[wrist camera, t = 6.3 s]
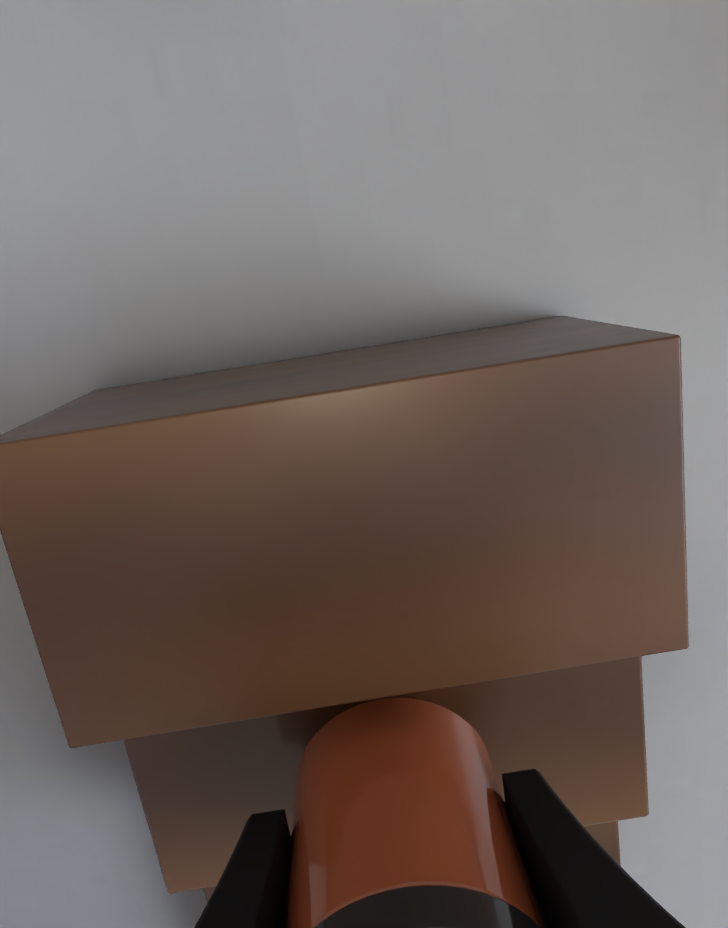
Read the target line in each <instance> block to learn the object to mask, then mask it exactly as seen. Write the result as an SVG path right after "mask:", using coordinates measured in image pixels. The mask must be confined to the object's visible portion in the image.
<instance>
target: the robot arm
mask: <svg viewBox="0 0 728 928" xmlns="http://www.w3.org/2000/svg"><path fill="white" fill-rule="evenodd" d="M502 780H503V789H504V797H505V804H506V807H507V810H508V813H509V816H510V819H511V822H512V825H513V828H514V831H515V834H516V838H517V841H518V844H519V847H520V850H521V853H522V856H523V859H524V862H525V865H526V868H527V871H528V874H529V877H530V880H531V883H532V886H533V889H534V892H535V895H536V898H537V901H538V904H539V907H540V910H541V913H542V916H543V919H544V922H545V926H546V928H685V927H684V926H683V925H682V924H681V923H680V922H678V921H677V920H676V919H675V918H674V917H673V916H672V915H671V914H669V913H668V912H667V911H666V910H665V909H664V908H663V907H662V906H661V905H660V904H659V903H657V902H656V901H655V900H654V899H653V898H652V897H651V896H650V895H649V894H648V893H647V892H646V891H645V890H644V889H643V888H642V887H641V886H640V885H639V884H638V883H637V882H636V881H634V880H633V879H632V878H631V877H630V876H629V875H628V874H627V873H626V872H625V871H624V870H623V868H622V867H621V866H620V865H619V864H618V863H617V862H616V861H615V860H614V859H613V858H612V857H611V856H610V855H609V854H608V853H607V852H606V851H605V850H604V848H603V847H602V846H601V845H600V844H599V843H598V842H597V841H596V840H595V839H594V838H593V837H592V836H591V834H590V833H589V832H588V831H587V830H586V829H585V828H584V827H583V825H582V824H581V823H580V822H579V821H578V820H577V818H576V817H575V816H574V815H573V814H572V812H571V811H570V810H569V809H568V808H567V807H566V805H565V804H564V803H563V802H562V800H561V799H560V798H559V797H558V795H557V794H556V793H555V791H554V790H553V789H552V788H551V786H550V785H549V784H548V782H547V781H546V780H545V778H544V777H543V775H542V774H541V773H540V772H539V771H537V770H536V769H529V770H522V771H516V772H510V773H504V774H502ZM290 845H291V835H290V831H289V826H288V822H287V817H286V813H285V809H282V810H275V811H269V812H263V813H257V814H252V815H251V816H250V817H249V819H248V820H247V822H246V824H245V826H244V829H243V831H242V833H241V836H240V838H239V840H238V842H237V845H236V847H235V849H234V851H233V853H232V855H231V858H230V860H229V862H228V864H227V866H226V868H225V870H224V872H223V874H222V876H221V878H220V880H219V882H218V884H217V886H216V888H215V890H214V892H213V894H212V896H211V897H210V899H209V901H208V903H207V905H206V907H205V909H204V911H203V913H202V915H201V916H200V918H199V920H198V922H197V924H196V926H195V927H194V928H285V914H286V901H287V887H288V873H289V859H290Z"/></svg>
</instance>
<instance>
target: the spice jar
mask: <svg viewBox="0 0 728 928" xmlns="http://www.w3.org/2000/svg"><path fill="white" fill-rule="evenodd" d="M285 928H546V926H545V922H544V919H543V916H542V913H541V910H540V907H539V904H538V901H537V898H536V895H535V892H534V889H533V886H532V883H531V880H530V877H529V874H528V871H527V868H526V865H525V862H524V859H523V856H522V853H521V850H520V847H519V844H518V841H517V838H516V834H515V831H514V828H513V825H512V822H511V819H510V816H509V813H508V810H507V807H506V804H505V801H504V798H503V795H502V792H501V789H500V786H499V783H498V780H497V777H496V774H495V771H494V768H493V765H492V762H491V759H490V756H489V753H488V750H487V748H486V746H485V744H484V742H483V740H482V739H481V737H480V736H479V735H478V733H477V732H476V731H475V730H474V729H473V727H472V726H471V725H470V724H469V723H468V722H466V721H465V720H464V719H462V718H461V717H460V716H459V715H457V714H456V713H454V712H452V711H451V710H449V709H447V708H445V707H443V706H440V705H438V704H436V703H432V702H429V701H425V700H421V699H414V698H403V697H393V698H382V699H377V700H371V701H368V702H365V703H361V704H358V705H356V706H354V707H351V708H349V709H347V710H345V711H343V712H342V713H340V714H338V715H337V716H335V717H334V718H332V719H331V720H330V721H328V722H327V723H326V724H325V725H324V726H323V727H322V728H321V729H320V730H319V731H318V732H317V733H316V734H315V735H314V736H313V738H312V739H311V740H310V742H309V743H308V745H307V746H306V748H305V750H304V752H303V753H302V756H301V758H300V761H299V763H298V767H297V772H296V776H295V790H294V804H293V818H292V832H291V845H290V859H289V873H288V887H287V901H286V914H285Z"/></svg>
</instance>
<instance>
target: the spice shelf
mask: <svg viewBox="0 0 728 928" xmlns="http://www.w3.org/2000/svg"><path fill="white" fill-rule="evenodd" d="M0 531H1V534H2V538H3V541H4V544H5V547H6V550H7V553H8V556H9V560H10V563H11V566H12V569H13V572H14V575H15V578H16V582H17V585H18V588H19V591H20V594H21V597H22V600H23V604H24V607H25V610H26V613H27V616H28V619H29V622H30V626H31V629H32V632H33V635H34V638H35V641H36V644H37V648H38V651H39V654H40V657H41V660H42V663H43V666H44V670H45V673H46V676H47V679H48V682H49V685H50V688H51V692H52V695H53V698H54V701H55V704H56V707H57V710H58V714H59V717H60V720H61V723H62V726H63V729H64V732H65V736H66V739H67V742H68V745H69V747H70V748H75V747H81V746H87V745H93V744H100V743H106V742H112V741H118V740H124V743H125V747H126V750H127V754H128V757H129V761H130V764H131V767H132V771H133V774H134V778H135V781H136V785H137V788H138V791H139V795H140V798H141V802H142V805H143V809H144V812H145V815H146V819H147V822H148V826H149V829H150V833H151V836H152V839H153V843H154V846H155V850H156V853H157V857H158V860H159V863H160V867H161V870H162V874H163V877H164V881H165V884H166V887H167V891H168V893H176V892H183V891H189V890H195V889H201V888H204V891H205V895H206V899H207V902H208V901H209V899H210V897H211V896H212V894H213V892H214V890H215V888H216V886H217V884H218V882H219V880H220V878H221V876H222V874H223V872H224V870H225V868H226V866H227V864H228V862H229V860H230V858H231V855H232V853H233V851H234V849H235V847H236V845H237V842H238V840H239V838H240V836H241V833H242V831H243V829H244V826H245V824H246V822H247V820H248V819H249V817H250V816H251V815H252V814H257V813H263V812H269V811H275V810H282V809H285V813H286V817H287V822H288V826H289V831H290V835H291V832H292V818H293V804H294V790H295V776H296V772H297V767H298V763H299V761H300V758H301V756H302V753H303V752H304V750H305V748H306V746H307V745H308V743H309V742H310V740H311V739H312V738H313V736H314V735H315V734H316V733H317V732H318V731H319V730H320V729H321V728H322V727H323V726H324V725H325V724H326V723H327V722H328V721H330V720H331V719H332V718H334V717H335V716H337V715H338V714H340V713H342V712H343V711H345V710H347V709H349V708H351V707H354V706H356V705H358V704H361V703H365V702H368V701H371V700H377V699H382V698H393V697H403V698H414V699H421V700H425V701H429V702H432V703H436V704H438V705H440V706H443V707H445V708H447V709H449V710H451V711H452V712H454V713H456V714H457V715H459V716H460V717H461V718H462V719H464V720H465V721H466V722H468V723H469V724H470V725H471V726H472V727H473V729H474V730H475V731H476V732H477V733H478V735H479V736H480V737H481V739H482V740H483V742H484V744H485V746H486V748H487V750H488V753H489V756H490V759H491V762H492V765H493V768H494V771H495V774H496V777H497V780H498V783H499V786H500V789H501V792H502V795H503V798H504V801H505V797H504V789H503V780H502V774H504V773H510V772H516V771H522V770H529V769H536V770H537V771H539V772H540V773H541V774H542V775H543V777H544V778H545V780H546V781H547V782H548V784H549V785H550V786H551V788H552V789H553V790H554V791H555V793H556V794H557V795H558V797H559V798H560V799H561V800H562V802H563V803H564V804H565V805H566V807H567V808H568V809H569V810H570V811H571V812H572V814H573V815H574V816H575V817H576V818H577V820H578V821H579V822H580V823H581V824H582V825H583V827H584V828H585V829H586V830H587V831H588V832H589V833H590V834H591V836H592V837H593V838H594V839H595V840H596V841H597V842H598V843H599V844H600V845H601V846H602V847H603V848H604V850H605V851H606V852H607V853H608V854H609V855H610V856H611V857H612V858H613V859H614V860H615V861H616V862H617V863H618V864H619V865H620V849H619V833H618V821H619V820H625V819H631V818H637V817H644V816H647V815H648V814H649V810H648V789H647V768H646V747H645V726H644V705H643V684H642V663H641V656H644V655H650V654H656V653H663V652H669V651H675V650H681V649H687V648H688V647H689V641H688V603H687V565H686V527H685V489H684V451H683V412H682V374H681V338H680V336H679V335H675V334H669V333H663V332H657V331H651V330H645V329H639V328H633V327H627V326H621V325H615V324H609V323H603V322H597V321H591V320H585V319H579V318H573V317H567V316H558V317H552V318H545V319H539V320H533V321H526V322H520V323H514V324H508V325H501V326H495V327H489V328H482V329H476V330H470V331H464V332H457V333H451V334H445V335H439V336H432V337H426V338H420V339H413V340H407V341H401V342H395V343H388V344H382V345H376V346H369V347H363V348H357V349H351V350H344V351H338V352H332V353H325V354H319V355H313V356H307V357H300V358H294V359H288V360H282V361H275V362H269V363H263V364H256V365H250V366H244V367H238V368H231V369H225V370H219V371H212V372H206V373H200V374H194V375H187V376H181V377H175V378H168V379H162V380H156V381H150V382H143V383H137V384H131V385H125V386H118V387H112V388H106V389H99V390H94V391H92V392H90V393H88V394H86V395H84V396H82V397H80V398H78V399H76V400H73V401H71V402H69V403H67V404H65V405H63V406H61V407H59V408H57V409H55V410H53V411H50V412H48V413H46V414H44V415H42V416H40V417H38V418H36V419H34V420H32V421H30V422H27V423H25V424H23V425H21V426H19V427H17V428H15V429H13V430H11V431H9V432H7V433H4V434H2V435H0ZM620 866H621V865H620Z"/></svg>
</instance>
